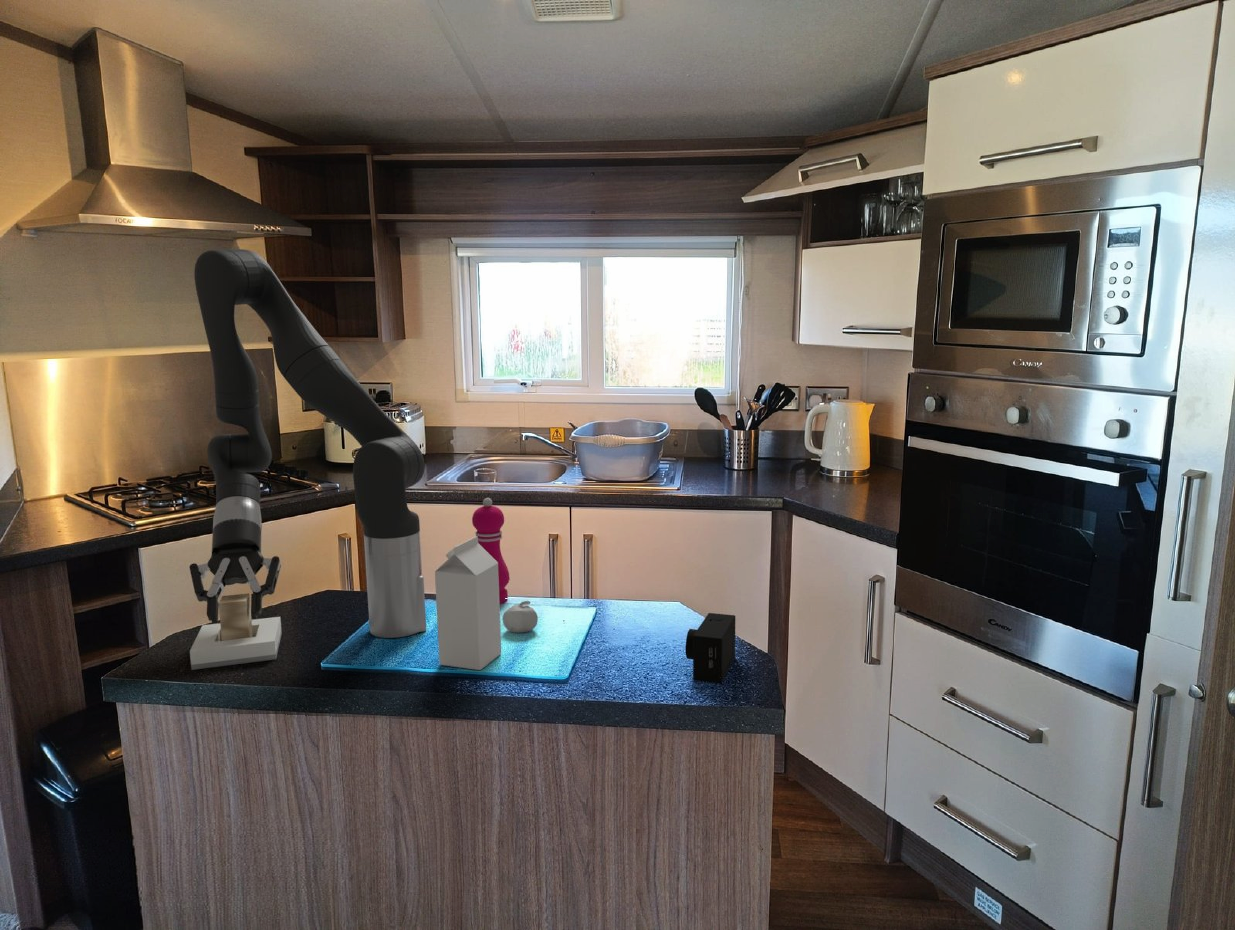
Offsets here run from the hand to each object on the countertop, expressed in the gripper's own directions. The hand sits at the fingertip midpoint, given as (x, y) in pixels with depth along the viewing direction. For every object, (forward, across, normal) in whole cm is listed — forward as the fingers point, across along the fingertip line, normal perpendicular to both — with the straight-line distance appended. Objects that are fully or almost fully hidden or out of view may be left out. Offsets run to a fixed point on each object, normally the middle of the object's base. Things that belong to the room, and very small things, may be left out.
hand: (234, 618), depth 129 cm
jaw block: (+2, 0, +5) cm, 6 cm away
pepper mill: (-5, +43, +14) cm, 45 cm away
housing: (+3, 0, +6) cm, 6 cm away
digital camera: (+26, +69, -17) cm, 76 cm away
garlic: (+8, +45, +1) cm, 46 cm away
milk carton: (+15, +35, -6) cm, 39 cm away
